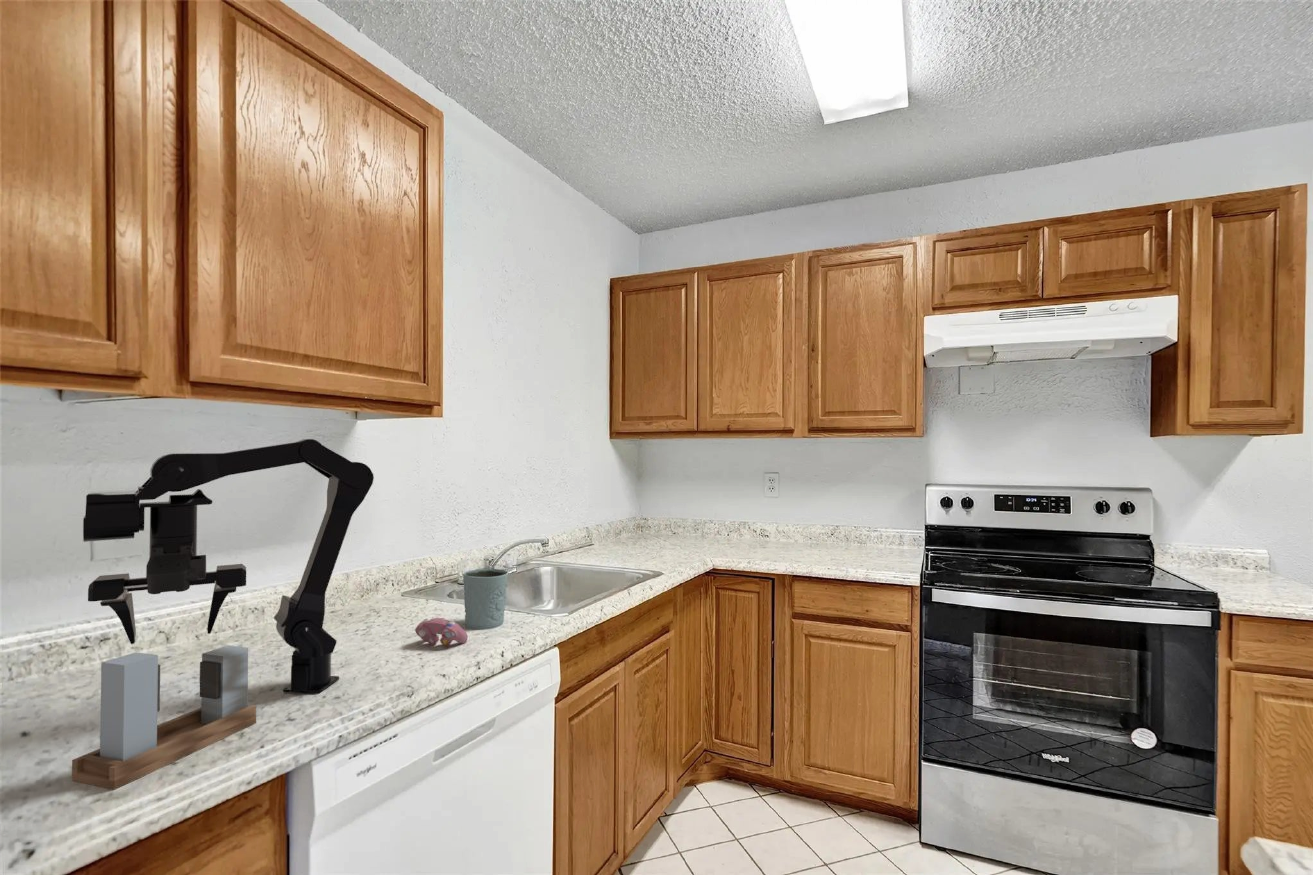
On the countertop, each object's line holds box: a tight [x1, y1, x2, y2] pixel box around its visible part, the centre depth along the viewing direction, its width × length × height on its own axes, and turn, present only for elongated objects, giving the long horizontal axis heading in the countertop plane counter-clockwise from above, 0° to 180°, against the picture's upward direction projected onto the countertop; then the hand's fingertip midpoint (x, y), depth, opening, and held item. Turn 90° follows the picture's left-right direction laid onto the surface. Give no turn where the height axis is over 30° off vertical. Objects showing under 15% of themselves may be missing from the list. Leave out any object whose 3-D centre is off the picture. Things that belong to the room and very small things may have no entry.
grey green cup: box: [462, 568, 509, 630], centre depth 146 cm, size 10×10×12 cm
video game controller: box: [414, 617, 469, 647], centre depth 131 cm, size 10×5×7 cm, turn 77°
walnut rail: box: [71, 645, 257, 791], centre depth 85 cm, size 19×7×11 cm, turn 164°
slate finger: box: [99, 651, 161, 761], centre depth 80 cm, size 5×4×13 cm
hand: (172, 638), depth 95 cm, fingers open, 9 cm apart
